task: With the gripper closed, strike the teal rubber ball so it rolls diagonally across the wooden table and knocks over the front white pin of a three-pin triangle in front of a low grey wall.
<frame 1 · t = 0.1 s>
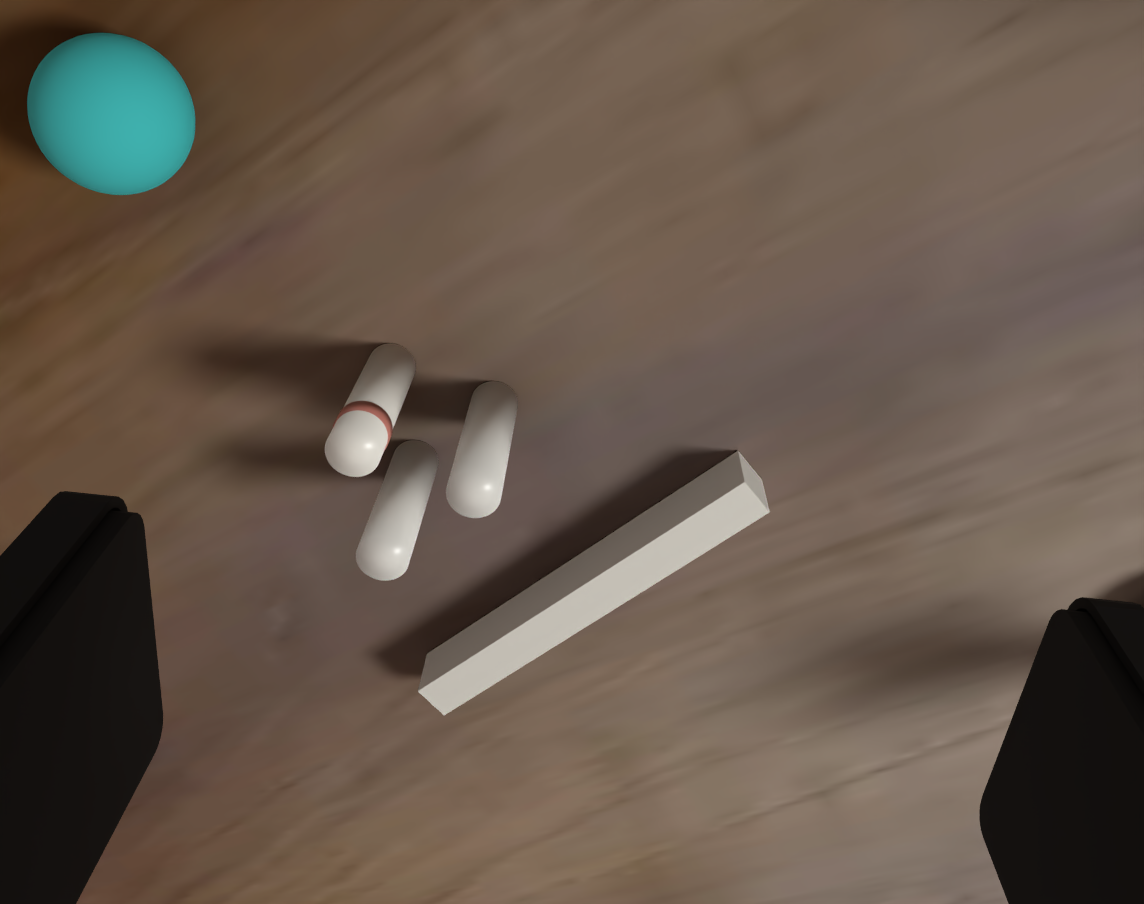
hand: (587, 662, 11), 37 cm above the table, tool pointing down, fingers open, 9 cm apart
ball: (113, 115, 42), on the table
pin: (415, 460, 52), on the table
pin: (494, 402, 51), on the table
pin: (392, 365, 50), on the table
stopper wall: (585, 571, 55), on the table
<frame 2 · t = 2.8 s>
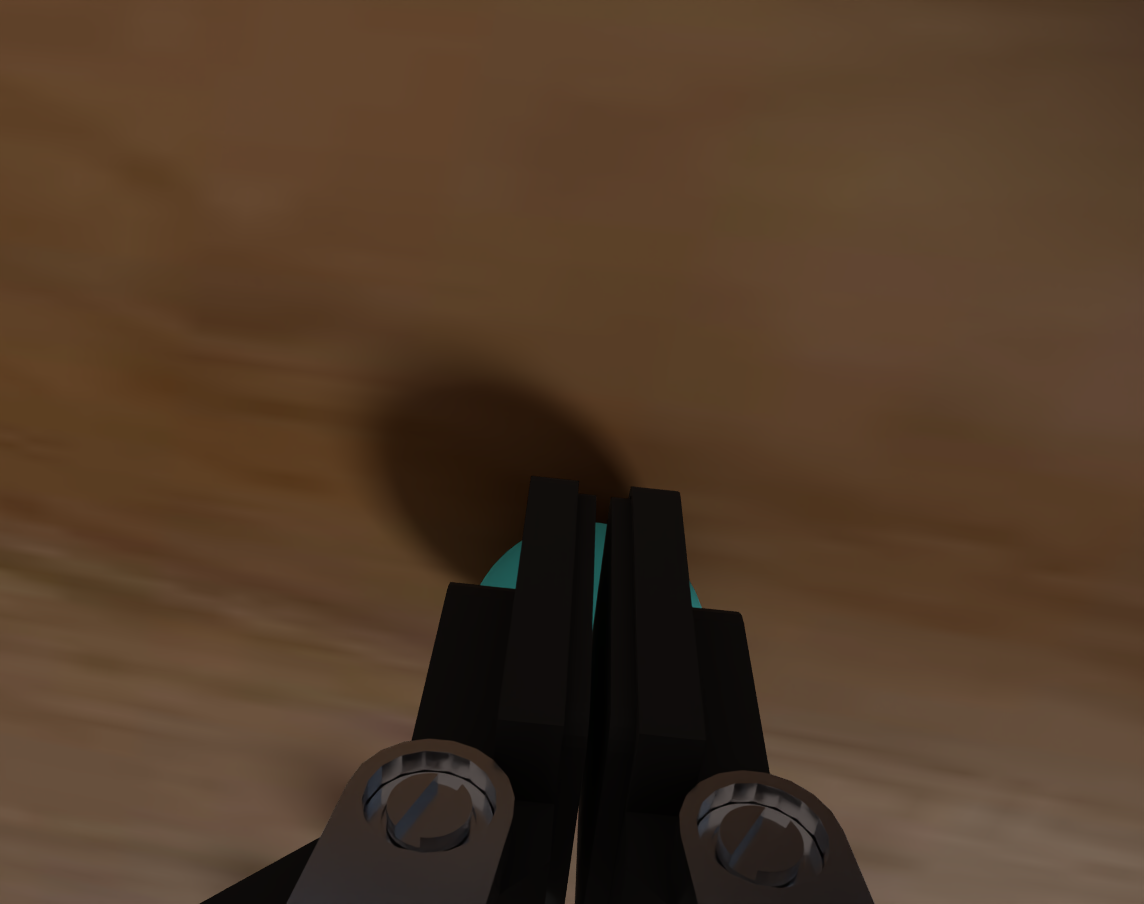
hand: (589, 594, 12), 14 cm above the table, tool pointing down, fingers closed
ball: (585, 643, 27), on the table
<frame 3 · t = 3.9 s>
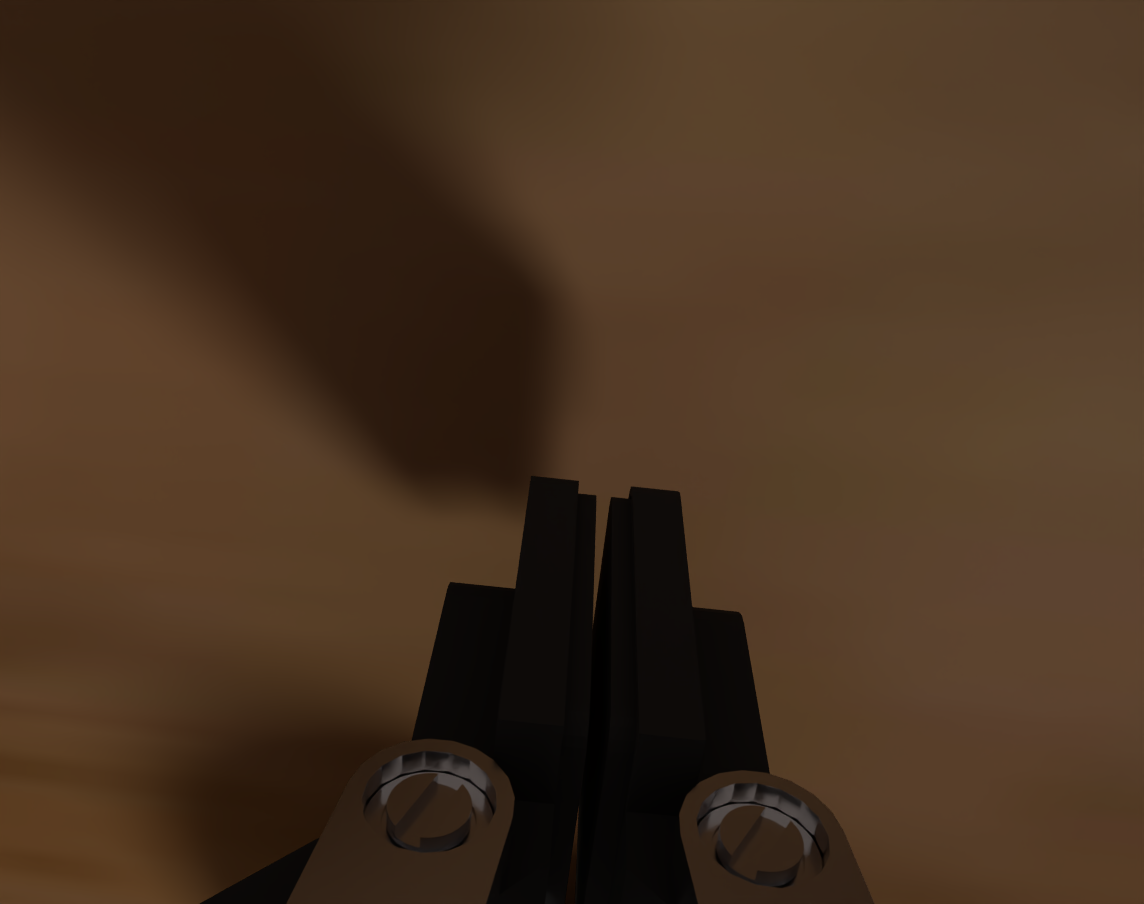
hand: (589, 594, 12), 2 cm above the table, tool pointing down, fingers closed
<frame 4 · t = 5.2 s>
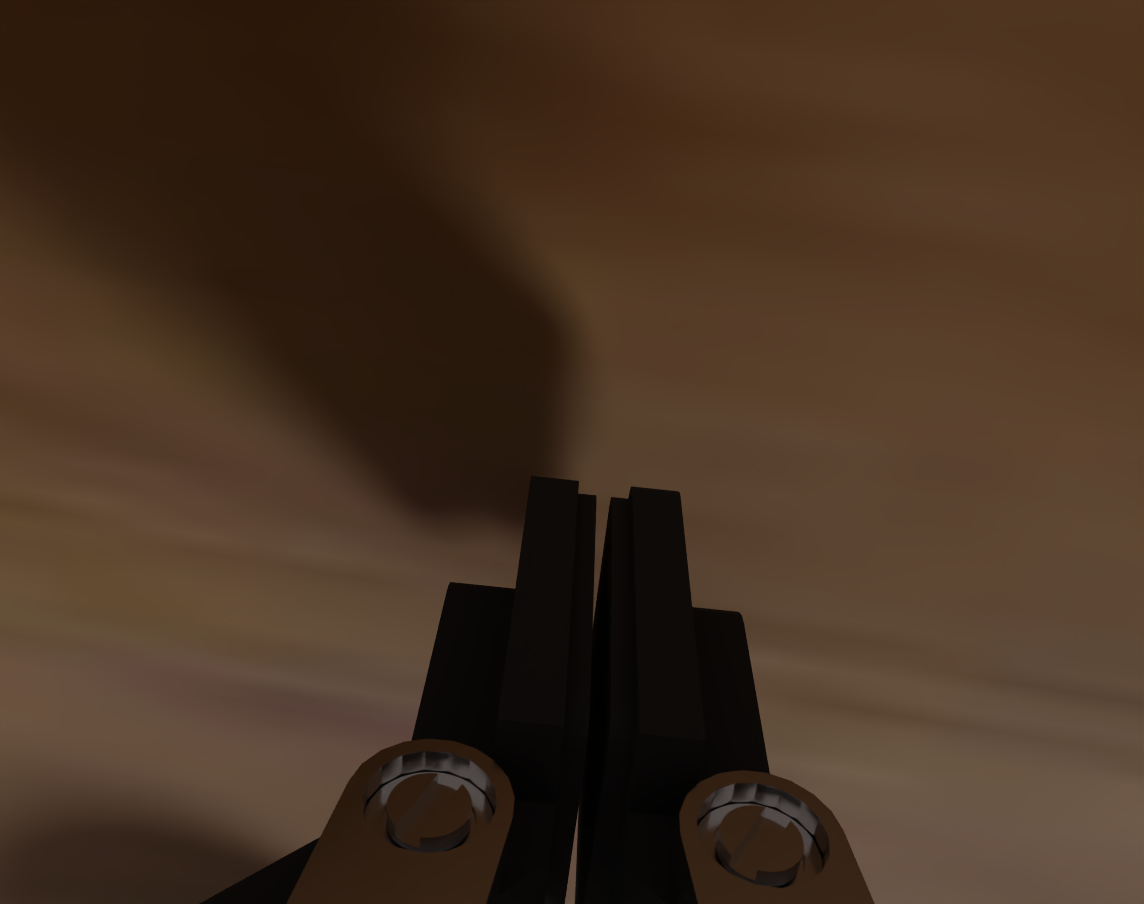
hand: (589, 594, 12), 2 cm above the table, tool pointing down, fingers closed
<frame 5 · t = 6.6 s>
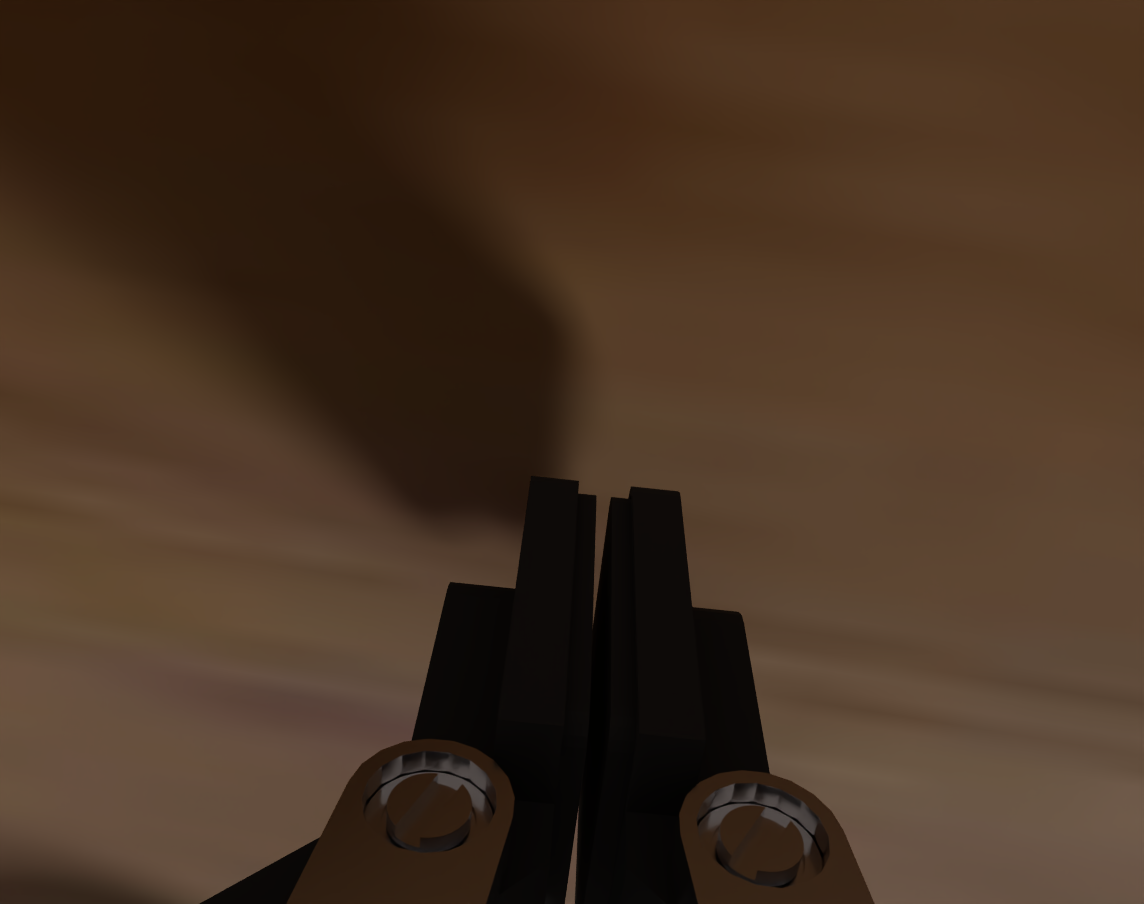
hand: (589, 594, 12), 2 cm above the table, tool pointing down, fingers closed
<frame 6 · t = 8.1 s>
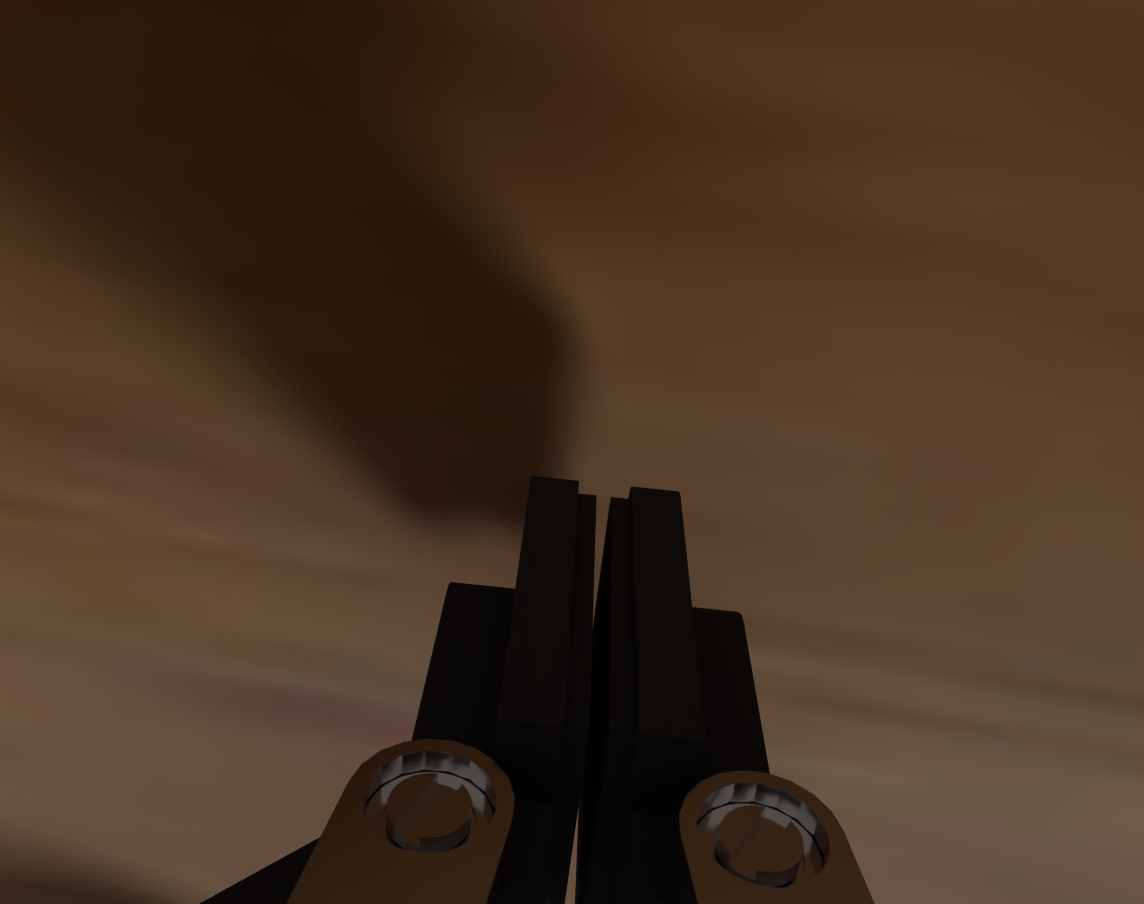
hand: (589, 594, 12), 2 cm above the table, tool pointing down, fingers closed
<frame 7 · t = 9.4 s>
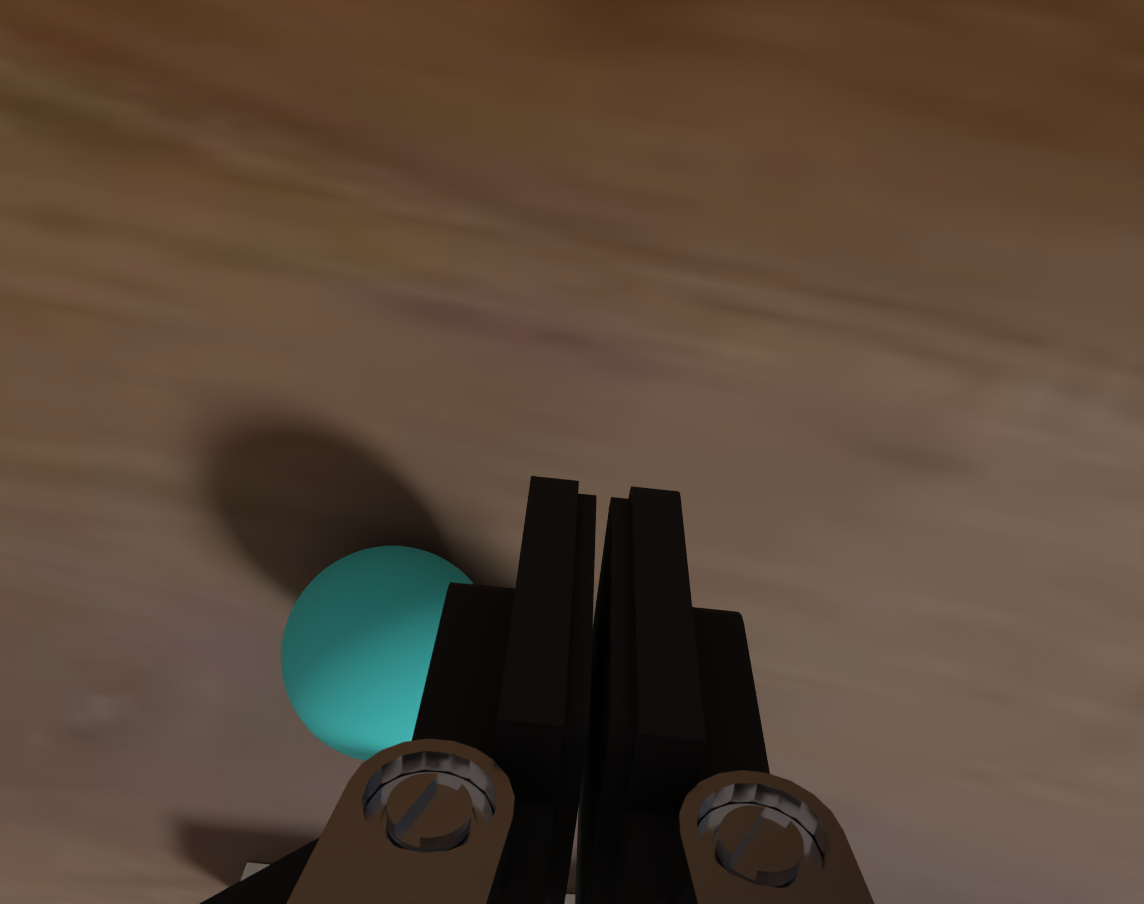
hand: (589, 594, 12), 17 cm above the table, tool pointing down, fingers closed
ball: (390, 652, 31), on the table
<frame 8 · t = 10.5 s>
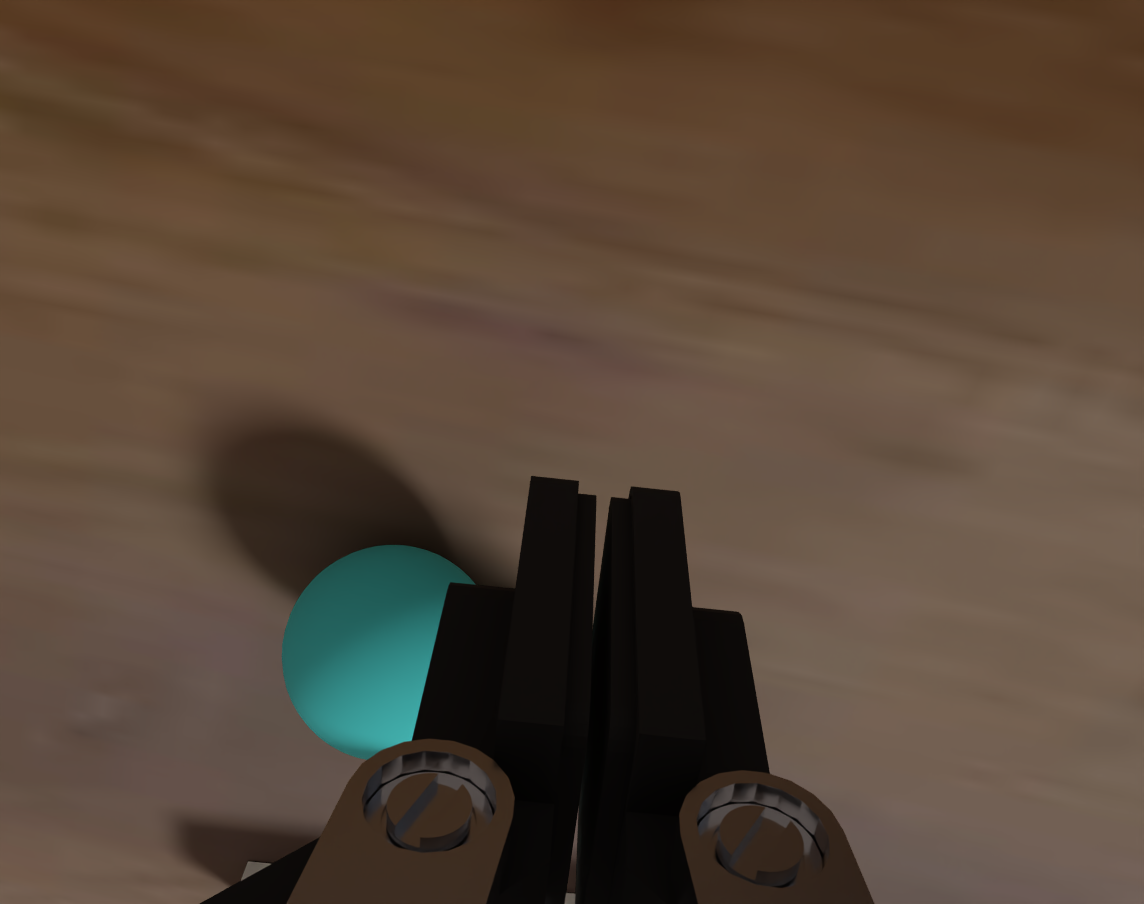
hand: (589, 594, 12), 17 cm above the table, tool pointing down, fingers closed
ball: (391, 651, 31), on the table
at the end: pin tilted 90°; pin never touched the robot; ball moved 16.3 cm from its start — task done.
